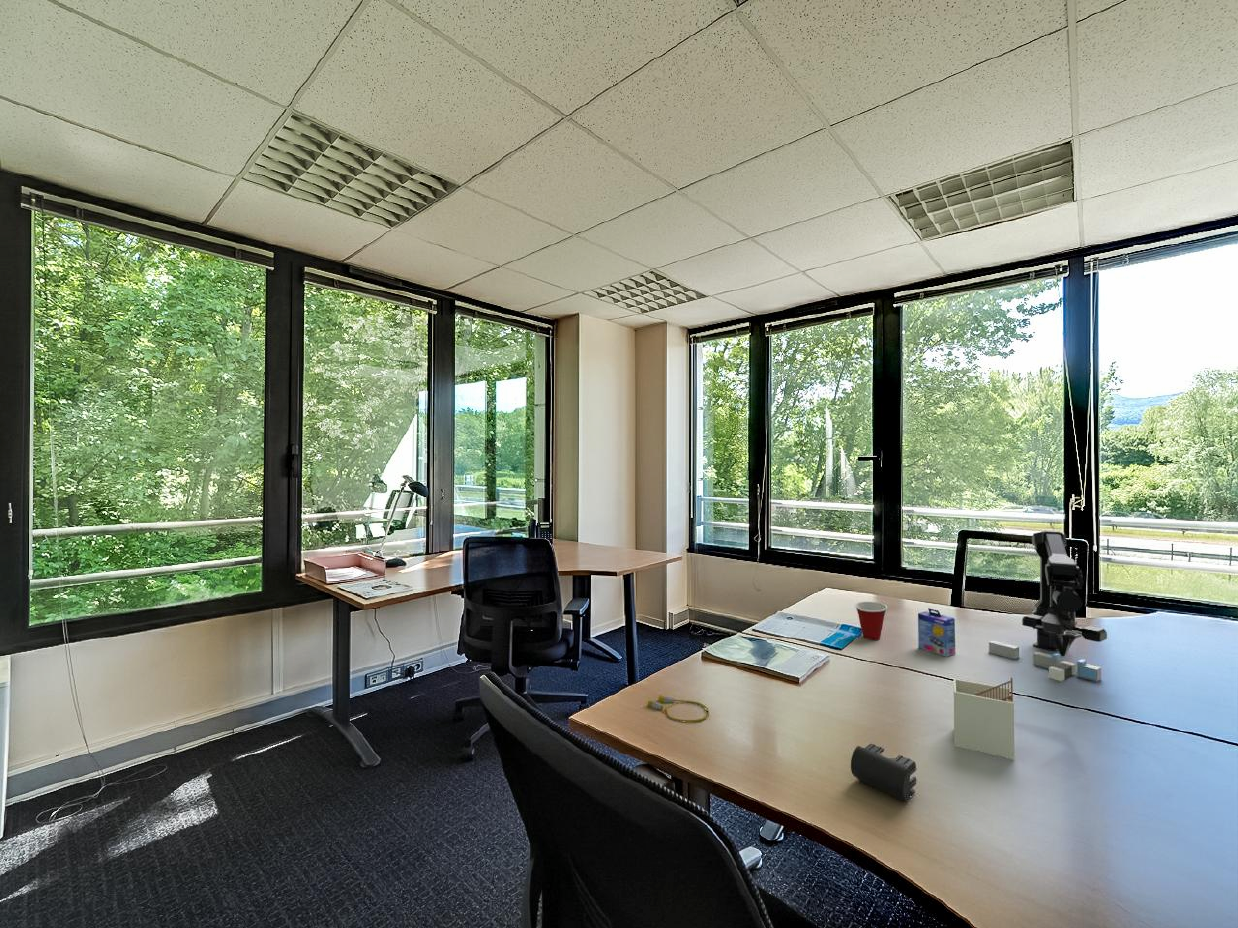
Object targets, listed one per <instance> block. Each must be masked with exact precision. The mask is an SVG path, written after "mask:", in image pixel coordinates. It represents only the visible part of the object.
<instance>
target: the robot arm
mask: <svg viewBox="0 0 1238 928" xmlns="http://www.w3.org/2000/svg"><path fill="white" fill-rule="evenodd" d="M1066 537H1067V536H1066V534H1064V533H1063V531H1060V530H1048V529H1047V530H1046V529H1045V530H1042V531H1039V532H1035V533H1033V534H1032V536H1031V543H1032V546H1034V551H1035V552H1036V554H1037V555H1038V556H1039V557H1040V558H1039V567H1040V568H1039V571H1040V573H1039V581H1040V582H1039V587H1040V588H1039V592H1040V593H1039V595H1040V596H1039V597H1040V598H1039V599H1038V601H1036V603H1035V604H1034V610H1032V612H1031V613H1030V614H1028V615H1025V616H1023V617H1022V619H1021V620H1022V621H1021V623H1022V624H1021V625H1022V626H1025V627H1028V628H1032V629H1033V630H1036V642H1034V643H1032V646H1033V647H1036V648H1041V649H1046V650H1049V651H1054V652H1057V651H1058V654H1060V655H1061V657H1066V655H1067V654H1068V651H1069V649H1070V648H1071V646H1072V644H1073V642H1074V641H1075V640H1076V639H1078V638H1081V637H1082V638H1084V639H1085V640H1088V641H1093V642H1098V643H1101V642H1102V641H1105V640H1107V639H1108V633H1107V630H1105V628H1101V627H1096V626H1093V625H1092V626H1091V625H1088V626H1084V627H1080V626H1077V625H1078V622H1077V620H1076V612H1078V611H1080V609H1082V607H1083V600H1082V598H1081V596H1079V594H1078V593H1077V591H1076V589H1083V586H1085V585H1084V584H1085V580H1084V577H1083V571H1082V570H1081V568H1080V567H1079V566H1077V563H1076V561H1075V559H1073V558H1072V557H1069V556H1068V554H1067V551H1066V546H1067V538H1066Z"/></svg>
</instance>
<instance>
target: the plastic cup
mask: <svg viewBox="0 0 1238 928" xmlns="http://www.w3.org/2000/svg"><path fill="white" fill-rule="evenodd" d="M854 607H855V609H856V611H857V615H858V620H859V625H860V629H861V634H862V638H864V639H866V640H871V641H878V640H880V639H881V637H882V631H883V625H884V620H885V614H886V610H888V606H887V605H886V604H883V603H881V602H875V601H860V602H857V603H855V604H854Z"/></svg>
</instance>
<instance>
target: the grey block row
mask: <svg viewBox="0 0 1238 928" xmlns="http://www.w3.org/2000/svg"><path fill="white" fill-rule="evenodd" d="M988 653H989V654H994V655H998V656H1001V657H1005V658H1009V659H1012V660H1017V659H1019V658H1020V646H1019V645H1018V646H1016V645H1015V644H1014V645H1013V644H1010V643H1006V642H1002V641H997V640H990V641H988ZM1032 657H1033V658H1032V659H1033V661H1032V662H1033V663H1032V665H1035V666H1038V667H1041V668H1046V669H1048V670H1049V667H1051V666H1053V667H1055V666H1057V665H1060V664H1061V663H1060V662H1062V656H1061V655H1060V653H1059V652H1055V653H1052V654H1049V653H1045V652H1042V651H1041V652H1040V651H1035V652H1033V653H1032ZM1076 664H1077V665H1076V668H1077V669H1076V670H1077V671H1076V674H1077V675H1076V676H1077V677H1079V678H1082V679H1086V680H1090V681H1093V682H1096V683H1097V682H1099V681H1101V680H1102V667H1100V666H1096V665H1093V664H1090V663H1087V660H1086V659H1082V658H1081V659H1079V660H1077V661H1076Z"/></svg>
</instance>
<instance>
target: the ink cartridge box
mask: <svg viewBox="0 0 1238 928" xmlns="http://www.w3.org/2000/svg"><path fill="white" fill-rule="evenodd" d="M927 610H928V611H927ZM927 610H926V611H922V612H918V613H917V630H918V631H917V634H918V635H917V636H918V639H917V641H918V649H921V650H924V651H927V652H931V653H934V654H937V655H939V656H943V657H949V656H954V655H956V627H955V626H956V621H955V619H956V618H954V617H952V616H949V615H944V614H942V613H941V612H940V611H939V610H938V609H934V608H930V607H929V608H927Z"/></svg>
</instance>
